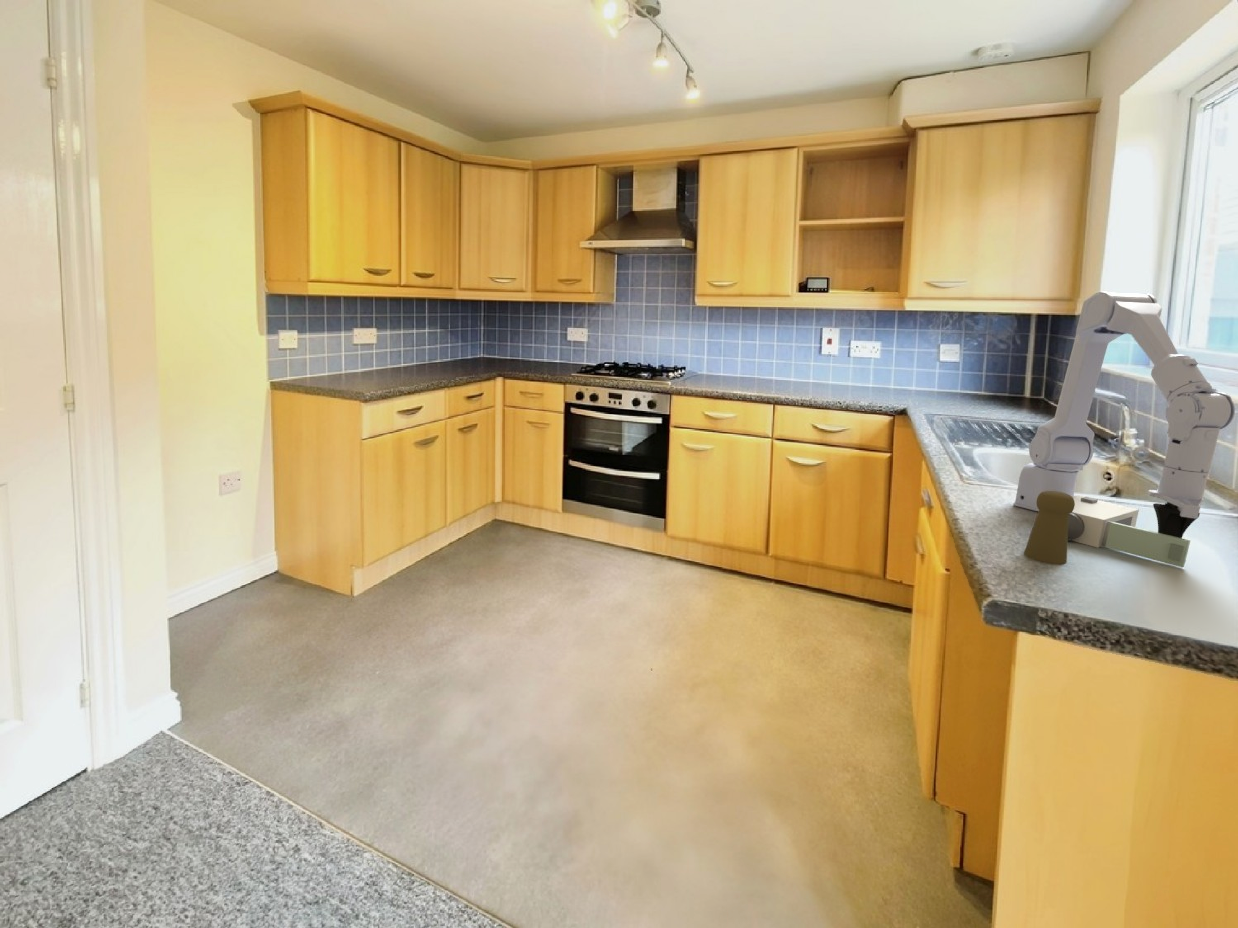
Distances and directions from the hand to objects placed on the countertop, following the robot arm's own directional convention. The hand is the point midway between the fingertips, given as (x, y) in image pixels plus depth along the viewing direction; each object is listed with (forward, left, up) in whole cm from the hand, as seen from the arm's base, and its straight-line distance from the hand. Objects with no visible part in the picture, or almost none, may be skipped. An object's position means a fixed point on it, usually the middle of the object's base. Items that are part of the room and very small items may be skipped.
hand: (1166, 548), depth 114 cm
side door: (-3, -2, -2) cm, 4 cm away
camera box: (-13, +4, -2) cm, 14 cm away
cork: (-10, -17, -2) cm, 20 cm away
